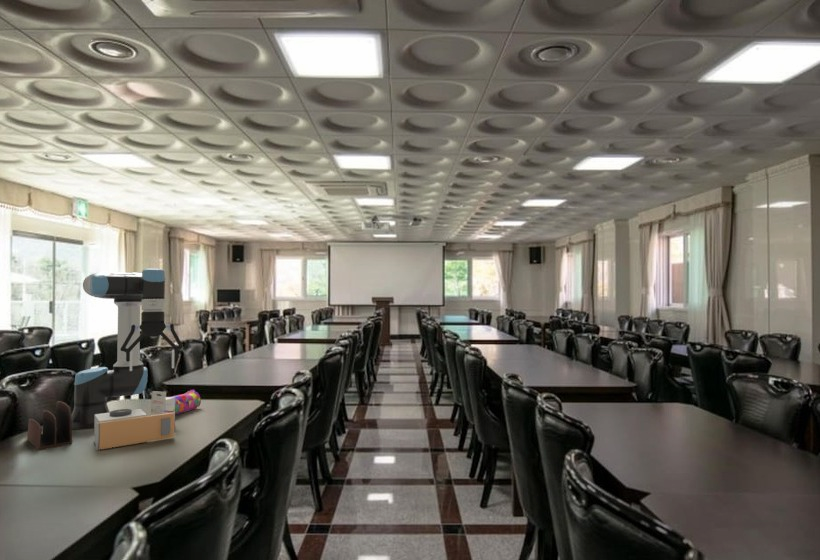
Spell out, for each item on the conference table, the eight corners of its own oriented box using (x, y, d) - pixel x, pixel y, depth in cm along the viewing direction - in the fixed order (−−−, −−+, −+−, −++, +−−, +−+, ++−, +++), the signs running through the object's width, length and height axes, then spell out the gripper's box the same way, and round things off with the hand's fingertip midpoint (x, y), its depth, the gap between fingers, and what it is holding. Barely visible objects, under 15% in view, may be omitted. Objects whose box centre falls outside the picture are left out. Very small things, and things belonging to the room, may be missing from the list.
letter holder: (58, 434, 193) (59, 398, 194) (72, 444, 180) (73, 405, 180) (26, 440, 186) (27, 402, 186) (38, 450, 172) (39, 410, 173)
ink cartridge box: (175, 425, 205) (175, 390, 205) (165, 428, 200) (166, 392, 201) (160, 424, 208) (160, 388, 209) (150, 426, 203) (150, 391, 204)
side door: (95, 449, 171) (96, 423, 171) (173, 436, 187) (173, 412, 187) (96, 450, 170) (96, 424, 170) (174, 437, 185) (174, 413, 186)
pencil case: (184, 407, 240) (184, 389, 240) (202, 408, 239) (202, 389, 239) (155, 418, 218) (156, 398, 219) (175, 419, 217) (175, 398, 218)
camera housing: (94, 441, 182) (94, 411, 183) (139, 434, 192) (140, 405, 192) (98, 449, 172) (99, 417, 172) (146, 441, 181) (147, 411, 182)
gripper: (112, 311, 171) (111, 373, 170) (191, 310, 183) (190, 367, 182) (114, 311, 178) (113, 370, 177) (189, 310, 190) (188, 365, 189)
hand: (152, 369), depth 180 cm, fingers open, 13 cm apart
